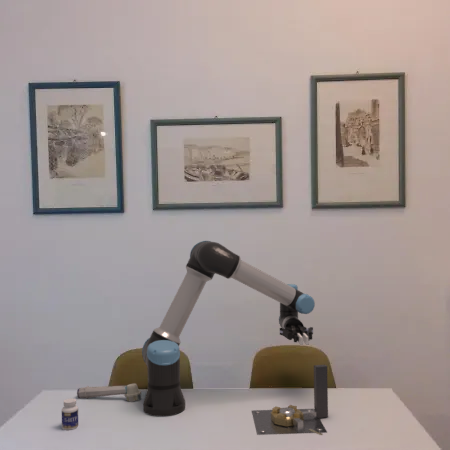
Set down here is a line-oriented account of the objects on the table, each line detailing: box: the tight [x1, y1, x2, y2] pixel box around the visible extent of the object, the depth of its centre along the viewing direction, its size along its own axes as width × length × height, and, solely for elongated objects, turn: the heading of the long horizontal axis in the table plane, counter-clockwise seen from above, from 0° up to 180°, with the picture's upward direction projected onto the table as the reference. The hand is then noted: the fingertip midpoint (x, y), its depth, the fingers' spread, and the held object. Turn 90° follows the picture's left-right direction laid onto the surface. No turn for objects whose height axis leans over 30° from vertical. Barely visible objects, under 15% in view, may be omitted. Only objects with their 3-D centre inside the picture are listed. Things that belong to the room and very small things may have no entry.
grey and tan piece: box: [271, 364, 329, 427], centre depth 166 cm, size 19×10×17 cm, turn 102°
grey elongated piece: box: [76, 383, 142, 403], centre depth 192 cm, size 5×7×25 cm
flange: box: [251, 406, 328, 436], centre depth 165 cm, size 22×22×4 cm
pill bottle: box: [61, 397, 79, 431], centre depth 166 cm, size 5×5×9 cm
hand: (304, 341), depth 175 cm, fingers closed
